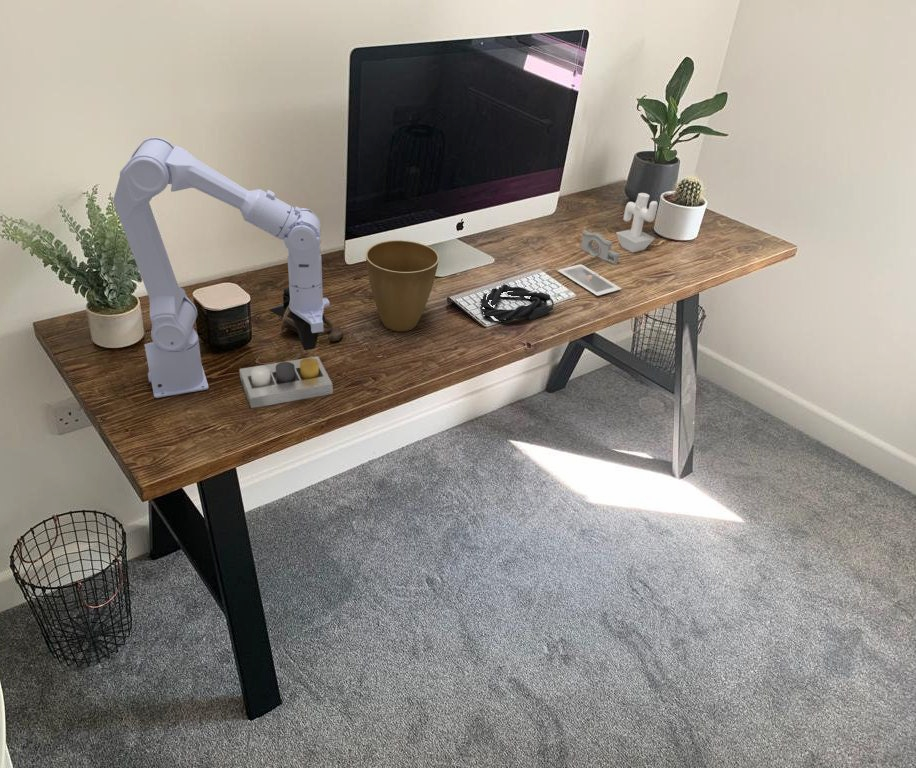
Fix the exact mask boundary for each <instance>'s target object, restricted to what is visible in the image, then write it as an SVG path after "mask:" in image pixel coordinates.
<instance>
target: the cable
mask: <svg viewBox="0 0 916 768" xmlns="http://www.w3.org/2000/svg"><path fill="white" fill-rule="evenodd" d="M507 291H513V292H508V293H507V294H508V295H511V296H520V297H519V298H523V297H524V296H531V297H530V299H531V303H530V304H527V305H525V304H524V305H519V306H517V307H516V308H513V309H500V308H499V309H497V308H496V307H495V308H493V307H491V306H490V305H489V304H488V302H489V300H492V301H491V305H492V306H493V305H495V304H496V303H497V304H498V302H499V299H500V298H499V297H500V295H501V293H503V292H507ZM489 293H490V294H489V295H488V297H487V300H486V295H487V293H485V294H484V293H483V295H482V298H483V299H481V298H480V300H481V301H480V304H479V306H480V305H481V306H480V307H481V308H482V307H484V308H485V309H482V311H483V312H484V314H483V312H482V311H481V312H482V316H483V315H487V316H488V317H489V316H494V317H495V318H496V319H498V320H499V321H501V322H500V323H508V322H511V321H514V320H524V319H528V320H534V319H535V320H536V319H538V318H541V317H543V316H546V315H547V314H549V313H550V312H551V311H553V309H554V305H555V302H554V299H552V297H551V296H550V294H548V293H545V292H540V291H539V292H538V291H537V290H536V291H533V290H532V291H531V290H529V289H526V288H524V287H522V286H521V287H519V286H509V285H508V284H507V283H506V284H505V283H503V284H502V285H501V286H499V287H498V289H497V288H496V287H493V288H491V290H490V292H489ZM548 301H550V302H551V305H550V306H548ZM481 303H482V304H481ZM497 304H496V305H497ZM487 316H486V317H487Z"/></svg>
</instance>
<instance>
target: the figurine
mask: <svg viewBox="0 0 916 768" xmlns="http://www.w3.org/2000/svg"><path fill="white" fill-rule="evenodd" d="M649 199H650V194H648V193H646V192H640V193H639V192H638V194H637V197H636V200H635V202H633V201H628V202H627V203H626V204H625V208H624V213H623V221H624V222H630V221H632V223H631V228H630V229H626V230H625V229H624V230H621V231H617V232H615V234H616V236H617V237H616V238H617V239H618V241H619V245H620V247H621V248H623V249H625V250H627V251H628V252H631V254H632V253H637V252H641V251H645V250H646V249H647V247H648V246H649V245H651V243H652V242H653V241H654V240H655V239H656V237H654V236H652V235H650V234H648V233H647V232H644V231H643V227H644V222H645V221H646V222H648V223H651V222H653V221H654V220H655V218H656V214H657V211H658V206H659V205H658V201H657V200H652V201H651V202H649ZM648 203H649V205H648Z"/></svg>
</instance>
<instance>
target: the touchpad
mask: <svg viewBox="0 0 916 768" xmlns="http://www.w3.org/2000/svg"><path fill="white" fill-rule="evenodd" d="M556 271H557V272H558V273H560V274H562V275H564V276H565V277H566V278H569V279H570V280H571V281H573V282H575V283H577V284H578V285H579V286H581V287H583V288H584V289H586V290H587V291H589V292H591V293H593V294H594V295H596V296H597V297H598V296H602V295H605V294H608V293H609V294H610V293H613V292H616V291H620V290H622V287H620V286H619V285H617V284H615V283H613V282H611V281H610V280H608V278H607V279H606V278H605V277H603V276H601V275H600V274H598V273H597V272H595V271H594V270H592V269H590V268H588V267H587V266H585V265H583V264H582V263H579V264H576V265H572V266H571V265H570V266H568V267H564V268H560V269H557V270H556Z"/></svg>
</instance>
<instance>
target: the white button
mask: <svg viewBox="0 0 916 768" xmlns="http://www.w3.org/2000/svg"><path fill="white" fill-rule="evenodd" d="M256 366H257V367H255V366H253V367H254V368H252V370H251V379H252V386H251V387H252V389H253V388H259V387H265V386H270V385H272V384H271V377H270V369H269V368H268V367H266V366H261V365H256Z"/></svg>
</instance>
